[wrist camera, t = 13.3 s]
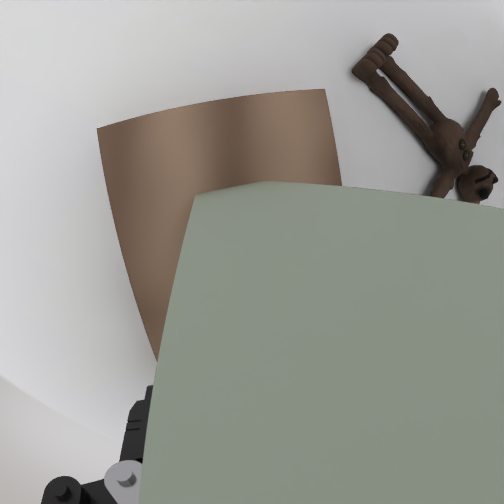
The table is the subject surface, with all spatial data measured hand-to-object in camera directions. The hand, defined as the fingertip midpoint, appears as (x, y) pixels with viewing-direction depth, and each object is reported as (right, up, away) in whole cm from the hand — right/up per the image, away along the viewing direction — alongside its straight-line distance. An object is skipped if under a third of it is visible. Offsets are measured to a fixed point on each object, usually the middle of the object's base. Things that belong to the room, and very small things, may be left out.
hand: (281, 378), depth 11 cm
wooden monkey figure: (+11, +13, +8) cm, 19 cm away
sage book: (-1, +2, +6) cm, 7 cm away
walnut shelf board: (-1, +2, +8) cm, 9 cm away
